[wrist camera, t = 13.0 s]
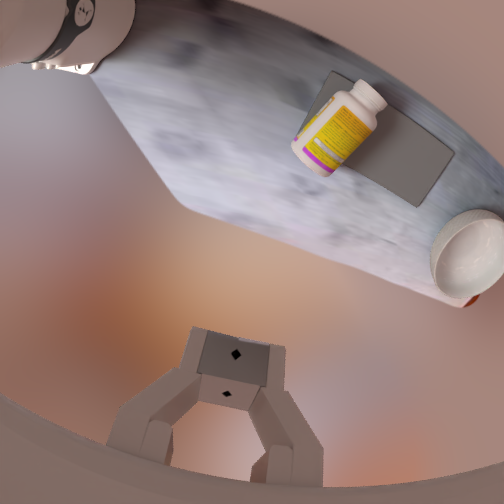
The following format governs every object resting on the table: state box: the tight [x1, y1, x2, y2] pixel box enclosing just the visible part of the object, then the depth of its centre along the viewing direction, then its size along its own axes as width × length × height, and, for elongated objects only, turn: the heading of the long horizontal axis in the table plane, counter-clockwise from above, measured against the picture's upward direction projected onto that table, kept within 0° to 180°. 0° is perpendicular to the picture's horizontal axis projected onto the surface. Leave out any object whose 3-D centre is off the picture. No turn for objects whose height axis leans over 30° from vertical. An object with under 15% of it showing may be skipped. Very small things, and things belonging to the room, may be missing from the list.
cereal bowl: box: [430, 209, 504, 299], centre depth 44 cm, size 17×17×7 cm
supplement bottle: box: [291, 79, 388, 177], centre depth 36 cm, size 7×7×13 cm
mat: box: [296, 71, 454, 208], centre depth 40 cm, size 22×11×1 cm, turn 66°
